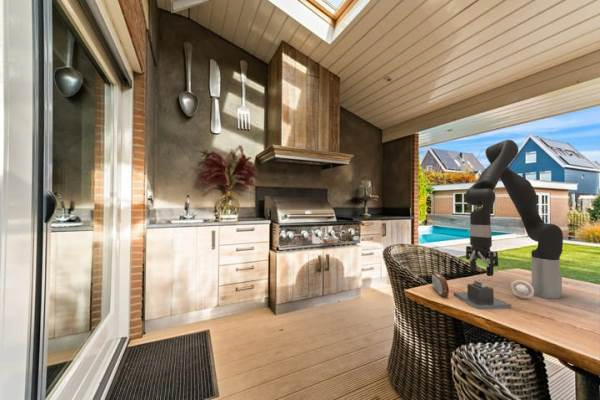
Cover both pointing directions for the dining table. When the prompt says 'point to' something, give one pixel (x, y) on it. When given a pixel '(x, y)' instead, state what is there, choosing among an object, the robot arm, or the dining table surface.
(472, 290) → the dark grey open box
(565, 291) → the dining table surface
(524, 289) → the ring around a ball
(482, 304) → the shaft base
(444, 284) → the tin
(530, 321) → the dining table surface
